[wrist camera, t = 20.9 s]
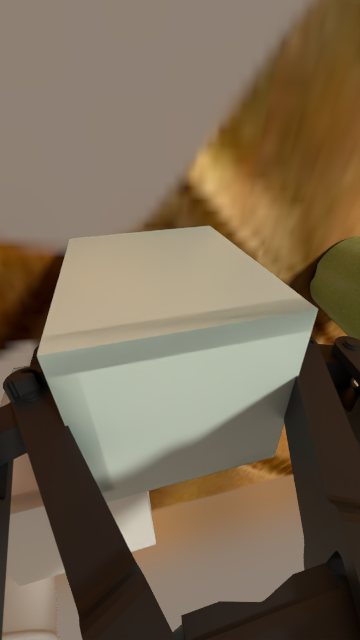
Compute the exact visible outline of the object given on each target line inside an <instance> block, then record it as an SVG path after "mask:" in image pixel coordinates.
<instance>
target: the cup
mask: <svg viewBox="0 0 360 640" xmlns="http://www.w3.org/2000/svg"><path fill="white" fill-rule="evenodd" d="M2 640H60V637H59V636H58V635H57V610H56V587H55V576H53V577H49V578H46V579H43V580H40V581H36V582H33V583H30V584H27V585H24V586H19V585H17V584H16V583H15V582H14V581H13V580H12V579H11V578H9V577H8V576H7V575H6V583H5V598H4V613H3V628H2Z"/></svg>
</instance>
